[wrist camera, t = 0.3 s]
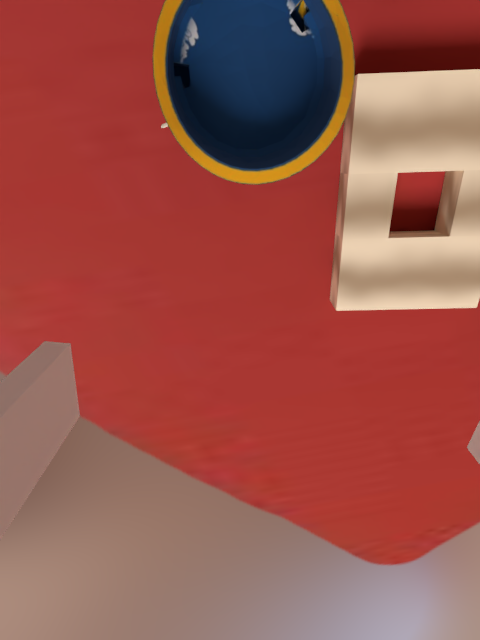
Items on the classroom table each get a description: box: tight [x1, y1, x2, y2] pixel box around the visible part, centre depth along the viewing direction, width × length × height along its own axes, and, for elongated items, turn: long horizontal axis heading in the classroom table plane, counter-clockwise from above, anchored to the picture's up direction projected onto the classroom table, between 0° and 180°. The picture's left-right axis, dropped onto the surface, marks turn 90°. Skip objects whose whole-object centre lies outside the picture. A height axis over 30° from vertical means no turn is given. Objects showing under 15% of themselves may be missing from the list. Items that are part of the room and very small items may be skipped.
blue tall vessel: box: [153, 0, 355, 185], centre depth 22 cm, size 13×9×20 cm
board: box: [330, 69, 480, 311], centre depth 33 cm, size 20×14×3 cm
